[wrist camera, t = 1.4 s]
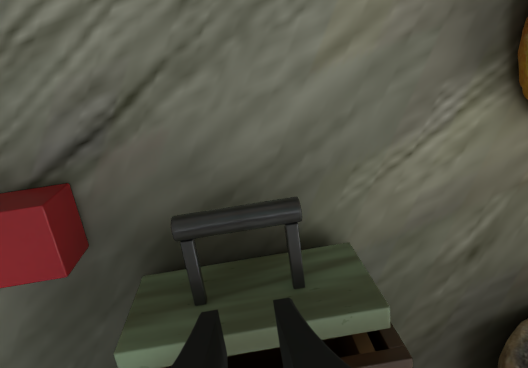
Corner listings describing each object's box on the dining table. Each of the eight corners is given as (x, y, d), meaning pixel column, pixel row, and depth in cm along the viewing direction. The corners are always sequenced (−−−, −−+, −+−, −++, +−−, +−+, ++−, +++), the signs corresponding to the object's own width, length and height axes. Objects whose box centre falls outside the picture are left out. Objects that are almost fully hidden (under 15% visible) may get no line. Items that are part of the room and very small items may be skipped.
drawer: (121, 200, 21) (80, 258, 15) (344, 165, 22) (387, 208, 16) (185, 430, 27) (173, 536, 21) (360, 398, 28) (396, 494, 22)
